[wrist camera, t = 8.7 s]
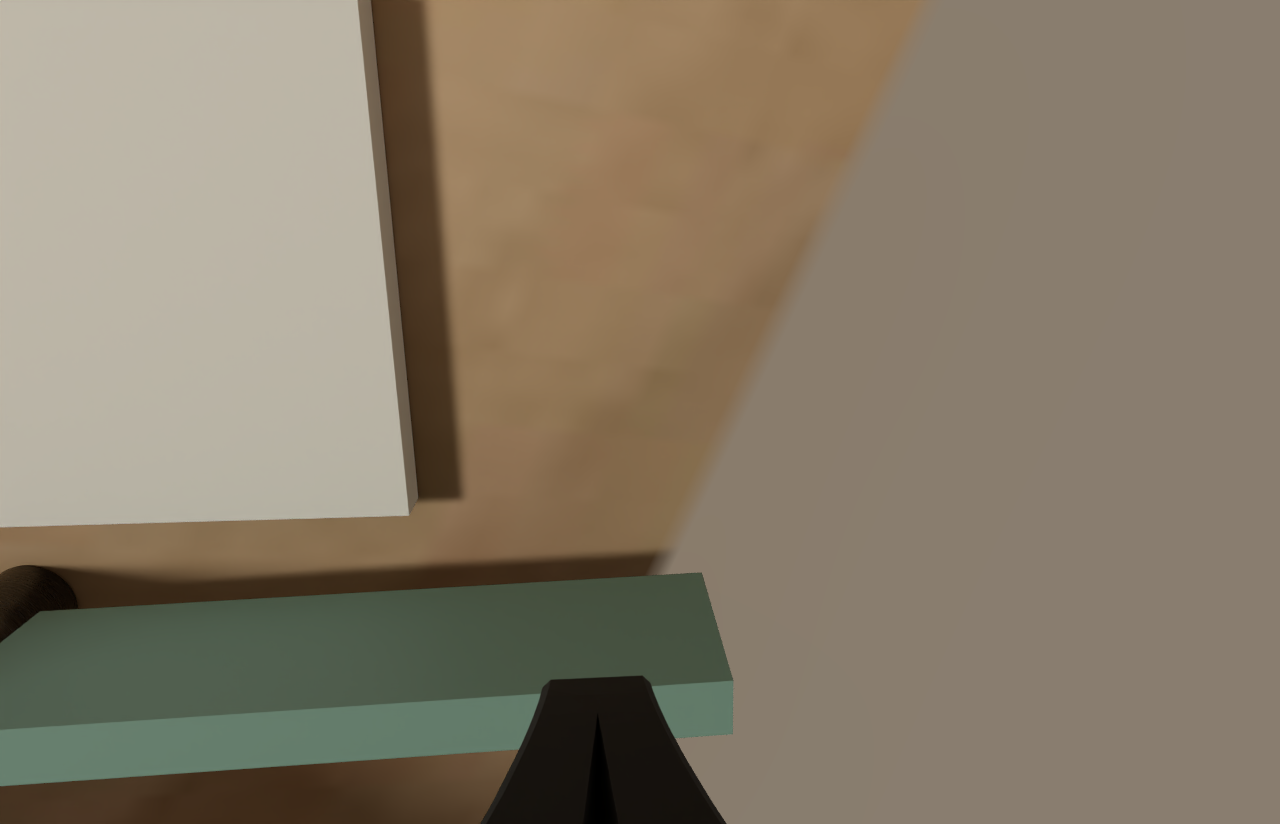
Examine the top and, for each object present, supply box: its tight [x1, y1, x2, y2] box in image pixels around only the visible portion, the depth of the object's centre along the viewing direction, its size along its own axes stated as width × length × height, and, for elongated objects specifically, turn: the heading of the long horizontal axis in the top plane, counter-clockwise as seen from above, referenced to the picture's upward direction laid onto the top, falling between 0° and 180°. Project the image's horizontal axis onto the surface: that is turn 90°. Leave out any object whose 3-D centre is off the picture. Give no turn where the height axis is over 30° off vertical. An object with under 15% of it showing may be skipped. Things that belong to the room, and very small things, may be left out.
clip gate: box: [0, 573, 733, 786], centre depth 16 cm, size 1×15×4 cm, turn 91°
